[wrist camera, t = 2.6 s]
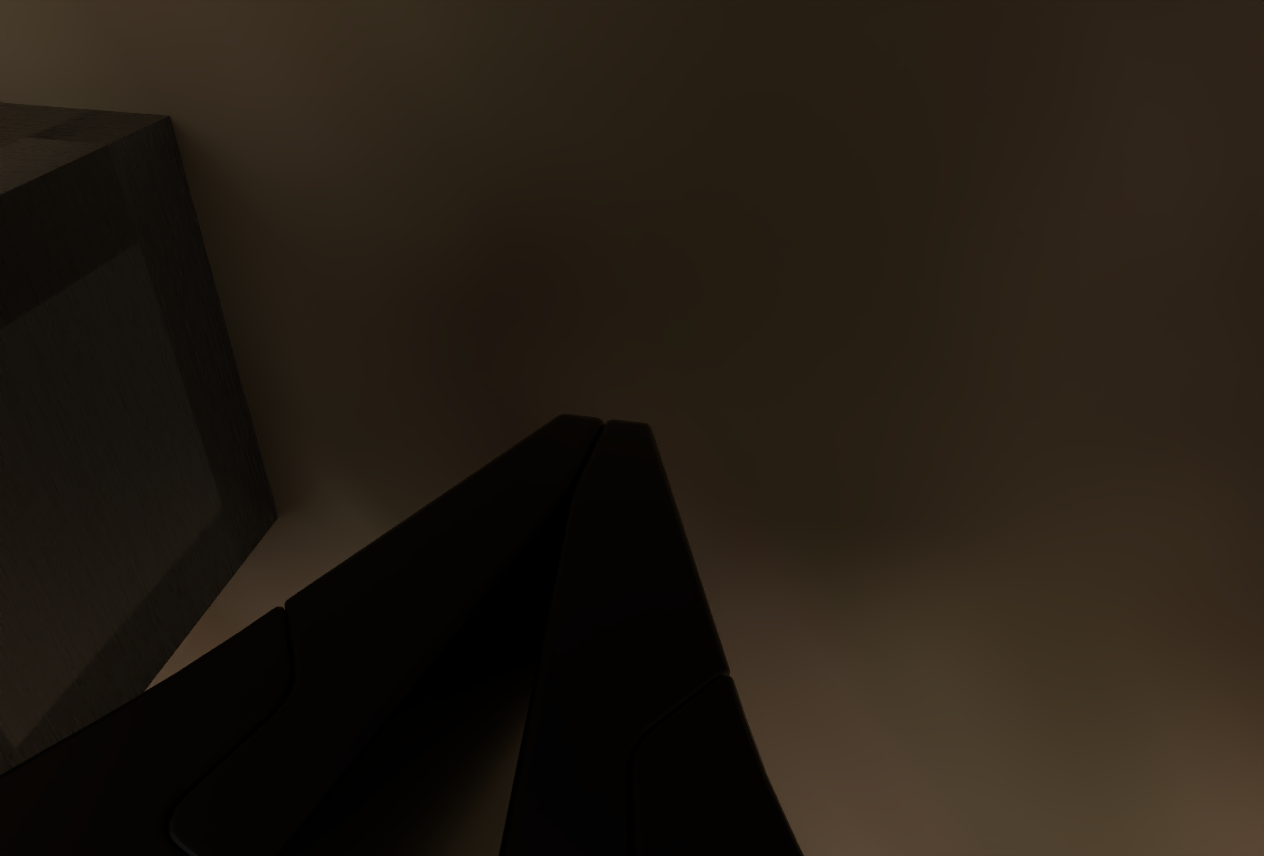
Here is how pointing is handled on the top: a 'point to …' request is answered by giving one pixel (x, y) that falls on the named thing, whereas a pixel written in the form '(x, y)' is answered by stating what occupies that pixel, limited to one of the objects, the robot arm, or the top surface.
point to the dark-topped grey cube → (109, 420)
